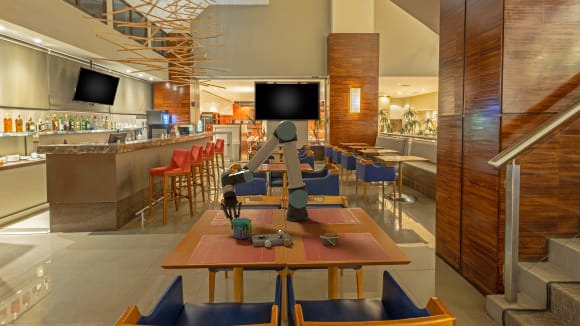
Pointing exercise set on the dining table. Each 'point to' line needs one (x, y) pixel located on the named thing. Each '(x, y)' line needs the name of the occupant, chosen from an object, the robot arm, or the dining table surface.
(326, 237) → the platform
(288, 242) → the cork ball
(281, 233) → the steel ball
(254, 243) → the plate
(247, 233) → the snack cup
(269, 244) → the pale green ball
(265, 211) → the dining table surface
